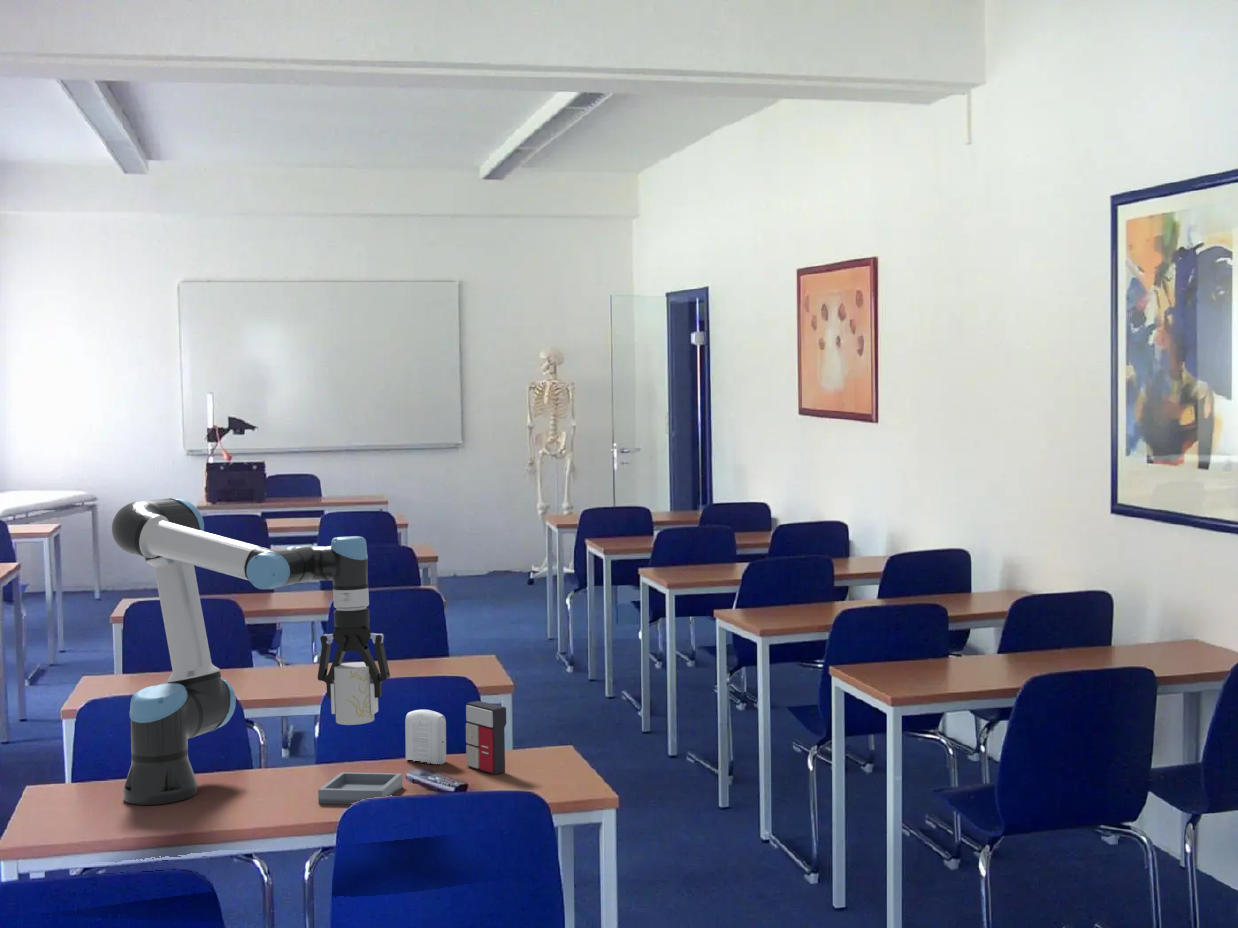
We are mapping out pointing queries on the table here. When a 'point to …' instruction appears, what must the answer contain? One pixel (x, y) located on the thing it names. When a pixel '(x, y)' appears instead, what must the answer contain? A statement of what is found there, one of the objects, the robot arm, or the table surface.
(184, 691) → the robot arm
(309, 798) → the table surface
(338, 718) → the cup
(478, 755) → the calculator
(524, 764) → the table surface
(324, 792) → the tray
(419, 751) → the white rounded block
